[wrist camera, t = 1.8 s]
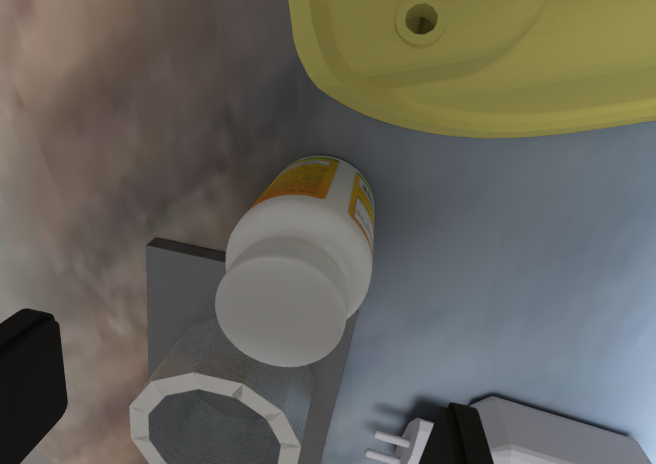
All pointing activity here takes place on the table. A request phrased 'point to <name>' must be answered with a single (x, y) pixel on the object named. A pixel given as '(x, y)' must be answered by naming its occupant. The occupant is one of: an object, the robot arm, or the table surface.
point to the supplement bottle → (298, 263)
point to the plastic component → (484, 62)
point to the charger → (523, 439)
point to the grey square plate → (221, 377)
